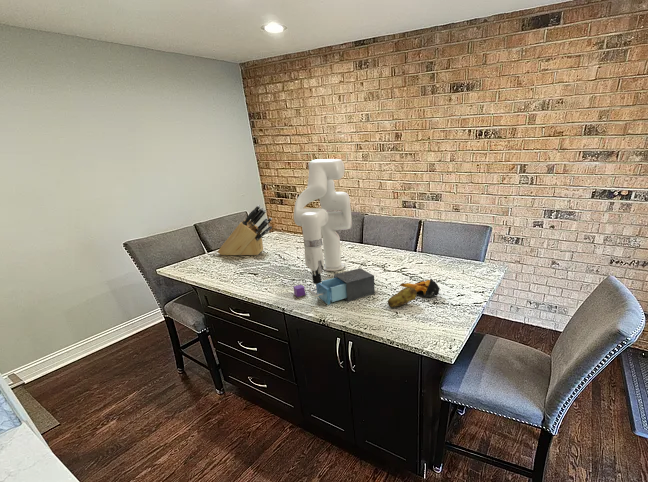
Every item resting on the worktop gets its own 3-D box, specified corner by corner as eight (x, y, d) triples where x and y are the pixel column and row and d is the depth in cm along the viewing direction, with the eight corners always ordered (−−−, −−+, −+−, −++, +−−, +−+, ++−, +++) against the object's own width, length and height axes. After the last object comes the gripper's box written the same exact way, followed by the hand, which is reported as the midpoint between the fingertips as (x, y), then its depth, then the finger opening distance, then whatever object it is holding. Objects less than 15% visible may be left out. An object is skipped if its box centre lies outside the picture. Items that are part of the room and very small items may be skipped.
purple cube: (294, 294, 160) (293, 286, 159) (302, 292, 163) (301, 284, 161) (297, 297, 157) (296, 289, 156) (305, 294, 159) (304, 287, 158)
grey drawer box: (347, 301, 152) (346, 282, 149) (335, 292, 162) (333, 274, 158) (374, 293, 160) (374, 275, 156) (360, 285, 169) (360, 268, 166)
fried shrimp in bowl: (439, 293, 148) (401, 278, 149) (432, 307, 156) (396, 293, 158) (444, 278, 154) (407, 264, 155) (437, 293, 162) (402, 279, 164)
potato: (386, 301, 151) (386, 285, 148) (415, 300, 152) (415, 284, 149) (388, 310, 144) (387, 293, 141) (417, 309, 144) (418, 292, 141)
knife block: (272, 255, 216) (264, 207, 204) (217, 256, 217) (207, 207, 205) (277, 250, 227) (270, 203, 214) (225, 250, 227) (216, 204, 215)
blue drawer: (318, 307, 145) (316, 292, 142) (307, 298, 154) (305, 283, 151) (354, 296, 154) (353, 282, 152) (342, 288, 163) (341, 274, 160)
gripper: (297, 240, 144) (302, 279, 151) (311, 248, 133) (316, 290, 140) (314, 237, 148) (317, 275, 155) (329, 245, 137) (332, 286, 144)
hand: (317, 282), depth 148 cm, fingers closed
